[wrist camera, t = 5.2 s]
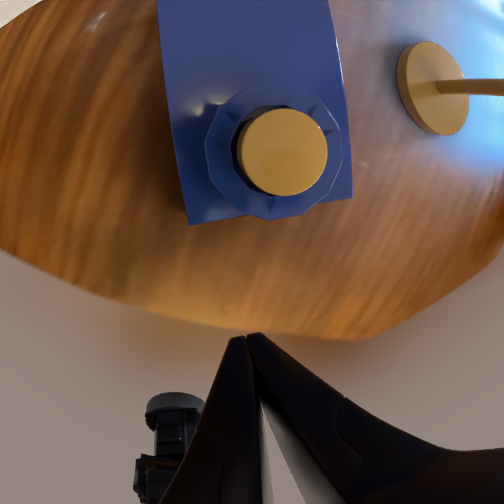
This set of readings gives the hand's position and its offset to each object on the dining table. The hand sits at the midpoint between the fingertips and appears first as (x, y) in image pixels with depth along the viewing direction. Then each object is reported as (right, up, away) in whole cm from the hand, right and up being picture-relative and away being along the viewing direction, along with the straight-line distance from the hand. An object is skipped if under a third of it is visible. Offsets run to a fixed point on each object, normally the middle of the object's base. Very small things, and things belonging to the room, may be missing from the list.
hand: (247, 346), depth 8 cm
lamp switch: (+1, +8, +6) cm, 10 cm away
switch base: (0, +12, +8) cm, 14 cm away
